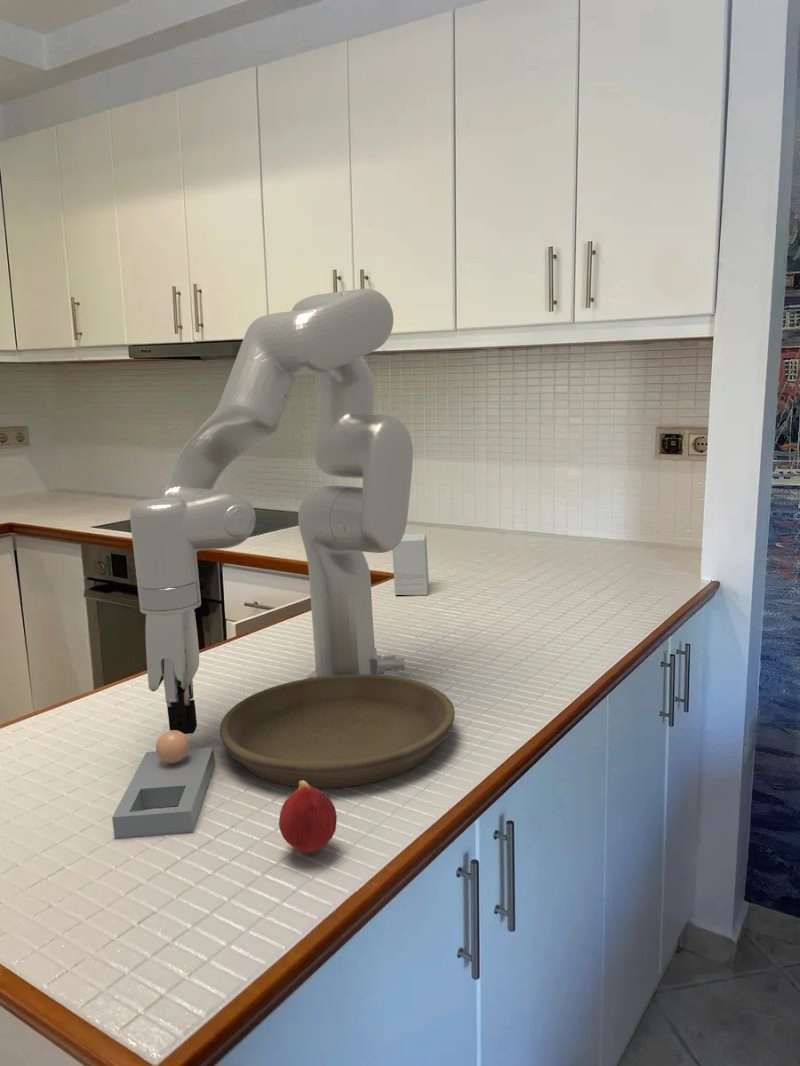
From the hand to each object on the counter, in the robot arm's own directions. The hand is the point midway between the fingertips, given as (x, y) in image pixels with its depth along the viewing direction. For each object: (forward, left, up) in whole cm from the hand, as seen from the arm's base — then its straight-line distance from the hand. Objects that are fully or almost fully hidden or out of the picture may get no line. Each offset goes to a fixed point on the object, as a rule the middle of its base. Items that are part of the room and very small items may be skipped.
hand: (183, 731), depth 109 cm
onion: (-17, +25, -4) cm, 31 cm away
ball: (0, +7, +1) cm, 7 cm away
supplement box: (-36, -77, -4) cm, 85 cm away
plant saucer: (-20, -1, -4) cm, 21 cm away
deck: (0, +11, -3) cm, 12 cm away
